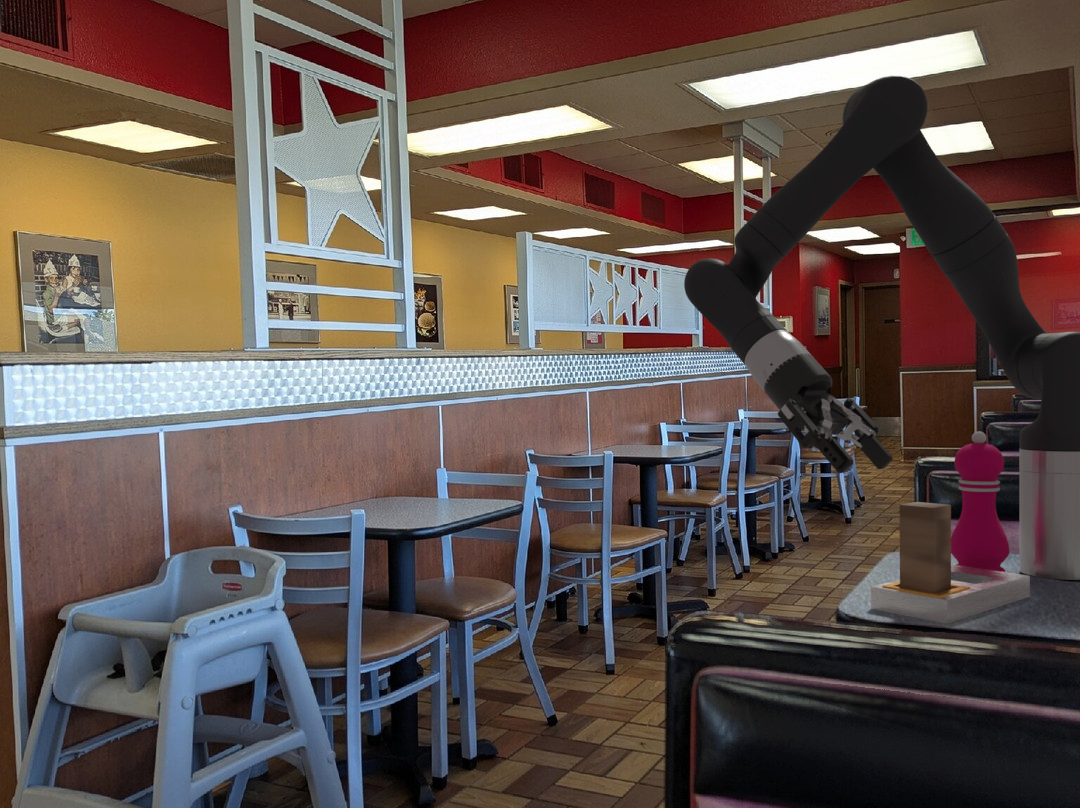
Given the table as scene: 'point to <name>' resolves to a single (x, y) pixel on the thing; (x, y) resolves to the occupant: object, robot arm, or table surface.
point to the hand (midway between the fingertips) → (867, 466)
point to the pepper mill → (979, 507)
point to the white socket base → (953, 595)
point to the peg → (925, 546)
